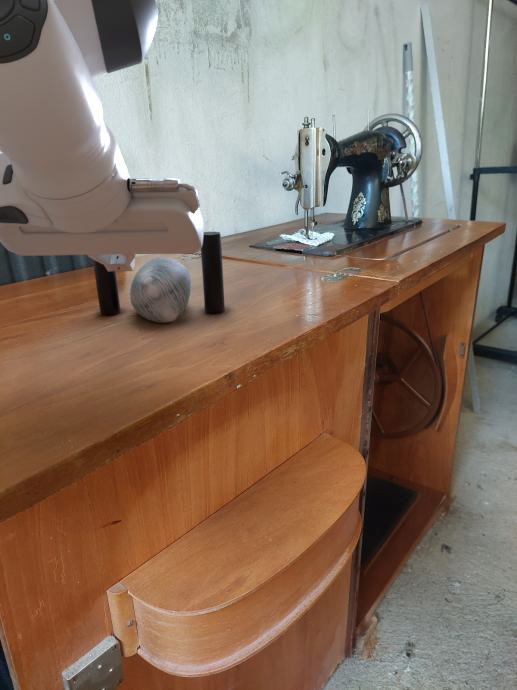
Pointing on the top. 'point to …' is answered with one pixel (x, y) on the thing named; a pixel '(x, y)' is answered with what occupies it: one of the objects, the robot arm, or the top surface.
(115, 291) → the goal posts
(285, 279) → the top surface
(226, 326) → the top surface
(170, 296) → the grey streaked stone
